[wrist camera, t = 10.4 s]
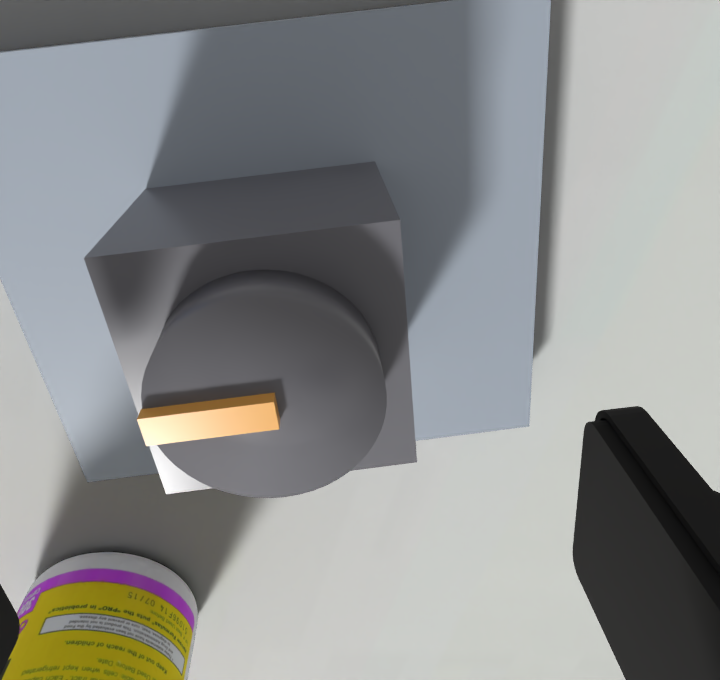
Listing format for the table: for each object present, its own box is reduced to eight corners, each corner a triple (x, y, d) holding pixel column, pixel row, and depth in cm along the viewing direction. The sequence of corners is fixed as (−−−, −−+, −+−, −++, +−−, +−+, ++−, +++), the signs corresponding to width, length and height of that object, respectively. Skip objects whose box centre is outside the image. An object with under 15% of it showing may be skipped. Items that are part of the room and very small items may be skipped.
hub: (522, -8, 15) (612, -14, 10) (510, 391, 21) (564, 493, 16) (-44, 56, 15) (-194, 78, 10) (106, 442, 20) (51, 559, 16)
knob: (375, 161, 15) (413, 249, 9) (391, 356, 17) (428, 511, 12) (145, 188, 15) (51, 294, 9) (198, 380, 17) (150, 547, 12)
